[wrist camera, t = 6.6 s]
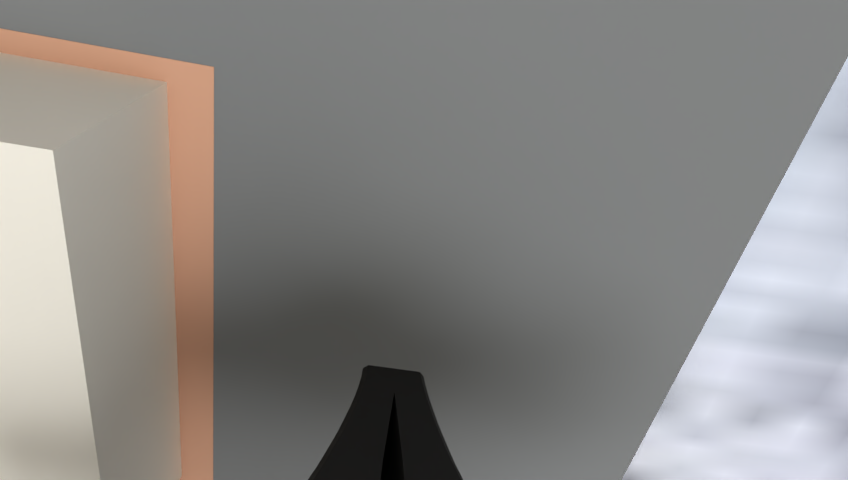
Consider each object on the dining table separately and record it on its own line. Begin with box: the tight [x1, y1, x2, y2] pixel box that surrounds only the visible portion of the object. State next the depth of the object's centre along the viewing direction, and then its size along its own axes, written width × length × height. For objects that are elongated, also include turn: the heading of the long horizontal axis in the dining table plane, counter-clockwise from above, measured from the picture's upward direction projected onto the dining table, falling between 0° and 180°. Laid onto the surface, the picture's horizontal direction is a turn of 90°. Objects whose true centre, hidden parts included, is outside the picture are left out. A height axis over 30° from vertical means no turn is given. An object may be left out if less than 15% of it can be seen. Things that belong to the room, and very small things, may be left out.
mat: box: [0, 0, 848, 480], centre depth 14 cm, size 28×22×1 cm
